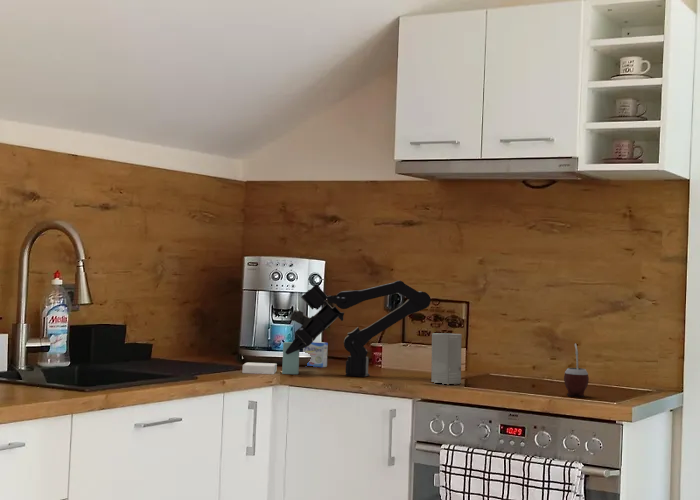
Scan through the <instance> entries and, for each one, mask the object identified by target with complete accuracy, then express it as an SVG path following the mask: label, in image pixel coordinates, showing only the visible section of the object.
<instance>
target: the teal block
mask: <svg viewBox="0 0 700 500" xmlns="http://www.w3.org/2000/svg"><path fill="white" fill-rule="evenodd" d="M292 342H293V341H284V342H283V344H282V346H283V347H282V363H281V364H282V367H281V369H282V370H281V373H282V375H283V374H285V375H299V373H300V350H297V351H295V352H292V353H290V354H286V353H285V352H286V350H287V349H288V348H289V346H290V345H291V344H292Z"/></svg>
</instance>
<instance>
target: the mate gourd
mask: <svg viewBox="0 0 700 500" xmlns="http://www.w3.org/2000/svg"><path fill="white" fill-rule="evenodd" d="M574 348H575V361H576V362H575V364H576V367H568V368H567V369H566V370H565V371H564V374H563V382H564V385H565V388H566V389H567V393H566V395H567V396H566V397H568V398H571V397H573V398H575V397H576V398H577V397H578V398H582V399H583V398H585V391H586V389H587V388H588V385H589V379H590V378H589V373H588V371H587V369H586V368H580V367H579V350H578V346H577V343H574Z"/></svg>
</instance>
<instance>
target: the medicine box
mask: <svg viewBox="0 0 700 500" xmlns="http://www.w3.org/2000/svg"><path fill="white" fill-rule="evenodd" d="M328 345H329V343H328V342H325V341H324V342H323V341H322V342H320V341H313V342H312V343H311V344H310V345H309V346H307V347H305V348H302V353H303V352H305V353H308V354H310V356H311V359H310V361H309V362H308V363H307V366H313V367H312V368H326V367H327V366H328ZM307 366H306V367H307Z"/></svg>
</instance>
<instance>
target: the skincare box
mask: <svg viewBox="0 0 700 500" xmlns="http://www.w3.org/2000/svg"><path fill="white" fill-rule="evenodd" d="M462 335H463V334H462V333H443V332H442V333H440V332H439V333H437V332H435V333H434V332H433V333H432V334H431V382H434V383H433V384H435V383H442V384H441V385H444V384H454V385H458V384H459V385H460V383H461V384H462Z"/></svg>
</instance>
